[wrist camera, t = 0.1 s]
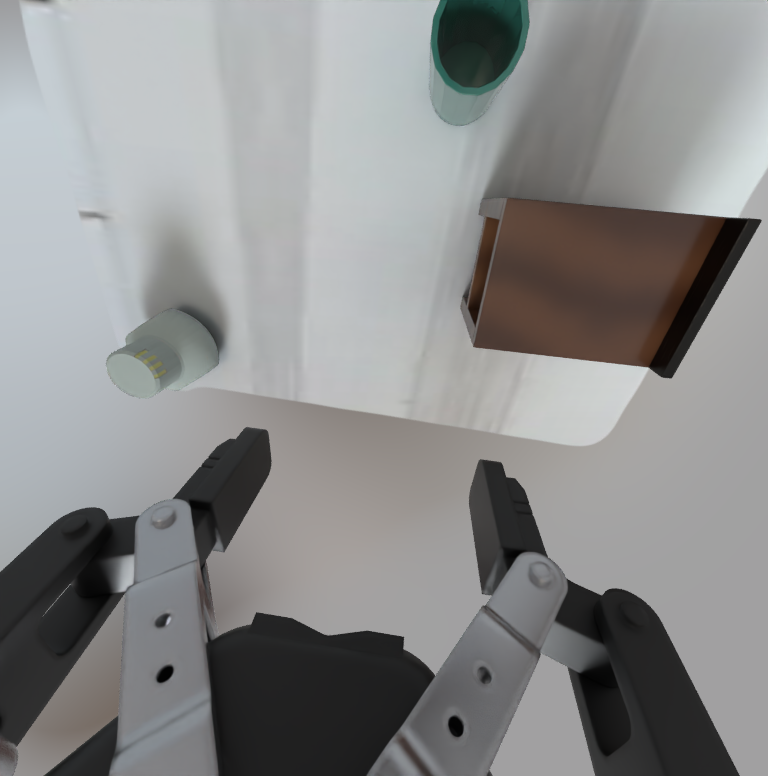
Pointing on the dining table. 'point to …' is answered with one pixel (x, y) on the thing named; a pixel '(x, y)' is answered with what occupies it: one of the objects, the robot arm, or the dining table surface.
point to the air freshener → (163, 355)
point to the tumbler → (474, 54)
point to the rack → (598, 280)
